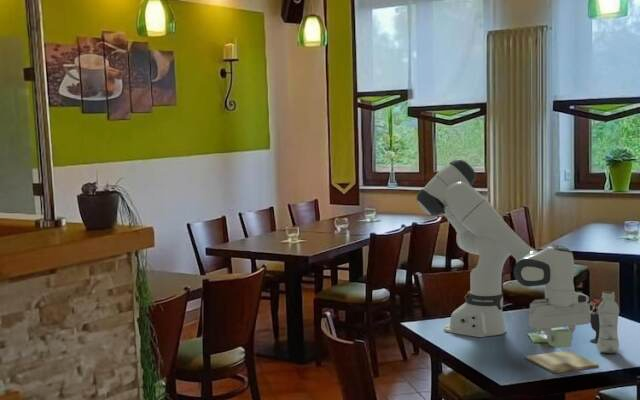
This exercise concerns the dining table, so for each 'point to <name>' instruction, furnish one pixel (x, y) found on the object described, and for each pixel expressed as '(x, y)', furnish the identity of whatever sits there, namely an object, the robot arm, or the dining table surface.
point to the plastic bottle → (608, 324)
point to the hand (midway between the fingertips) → (559, 340)
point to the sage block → (561, 337)
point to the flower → (595, 302)
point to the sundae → (595, 321)
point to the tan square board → (561, 361)
